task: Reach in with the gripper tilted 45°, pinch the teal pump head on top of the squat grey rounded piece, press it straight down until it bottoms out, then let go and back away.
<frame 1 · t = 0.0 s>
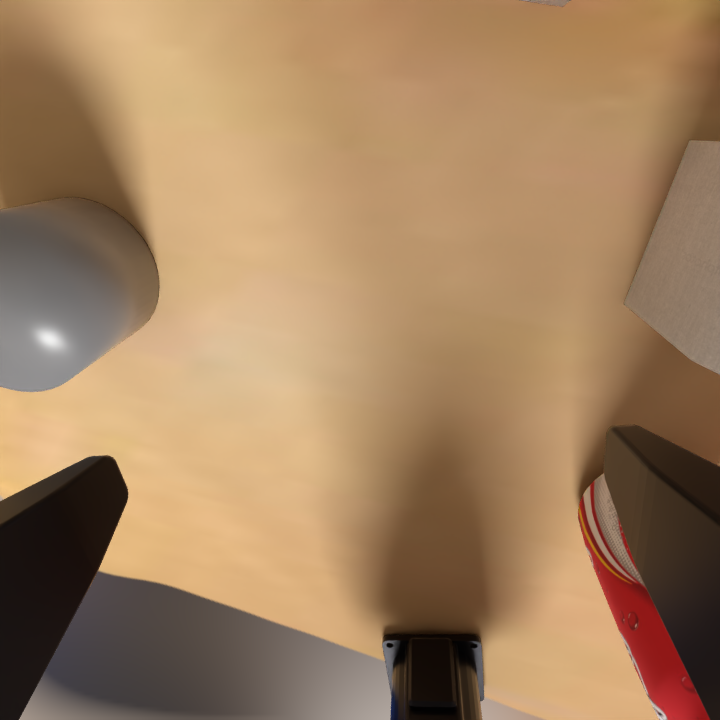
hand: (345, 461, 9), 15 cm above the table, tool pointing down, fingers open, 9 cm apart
grey rounded piece: (89, 272, 24), on the table
soda can: (637, 496, 26), on the table
grey rectangular block: (695, 234, 20), on the table
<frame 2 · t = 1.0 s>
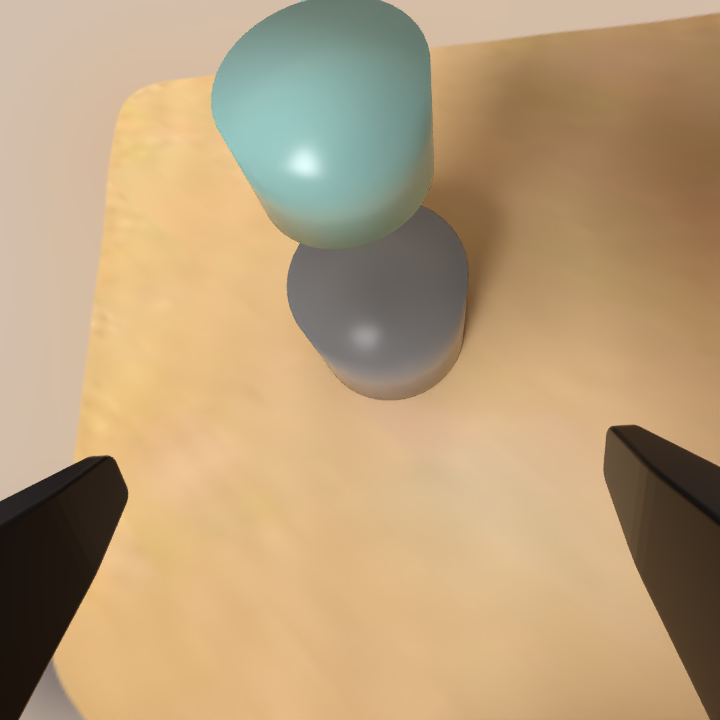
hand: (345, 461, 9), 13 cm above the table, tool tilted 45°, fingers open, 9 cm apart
grey rounded piece: (391, 331, 24), on the table
pump head: (340, 121, 13), point 12 cm above the table, slide at 0.0 cm
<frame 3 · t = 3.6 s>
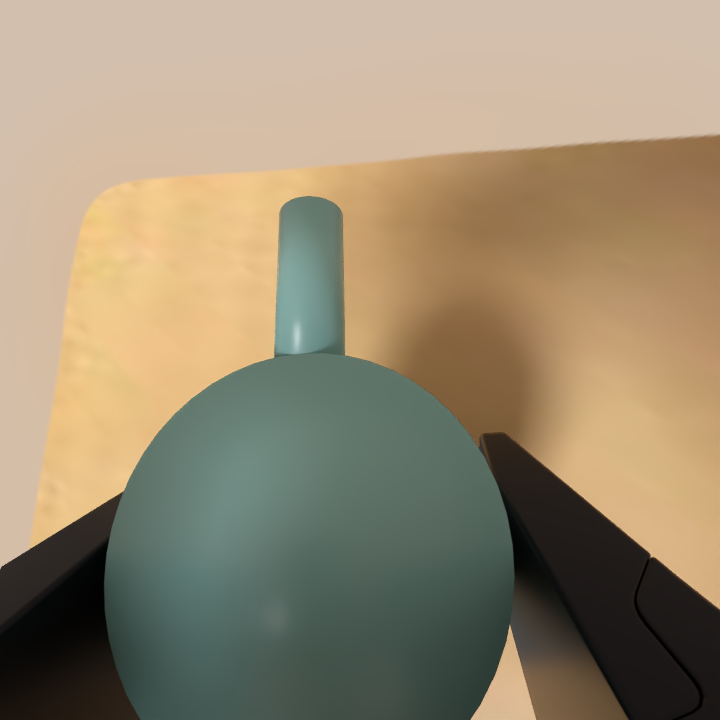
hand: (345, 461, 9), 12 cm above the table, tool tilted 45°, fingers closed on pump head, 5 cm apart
pump head: (340, 466, 8), point 12 cm above the table, slide at 0.0 cm, touching gripper
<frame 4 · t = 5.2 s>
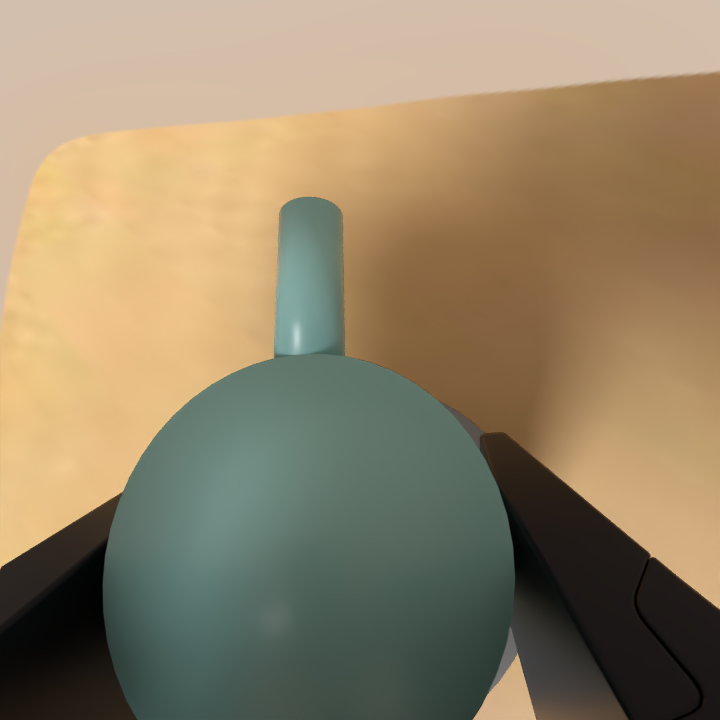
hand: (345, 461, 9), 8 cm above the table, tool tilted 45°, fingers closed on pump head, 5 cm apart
grey rounded piece: (394, 540, 16), on the table
pump head: (339, 467, 8), point 8 cm above the table, slide at 3.6 cm, touching gripper
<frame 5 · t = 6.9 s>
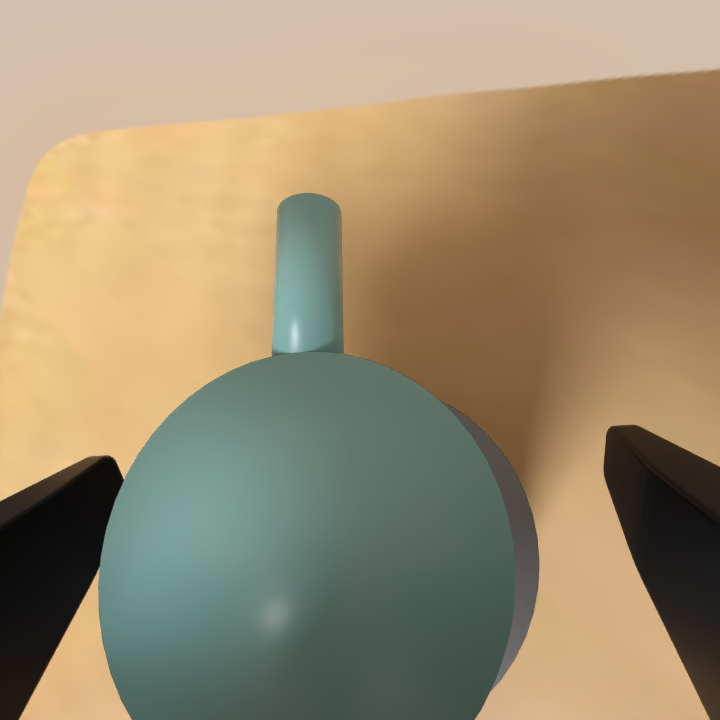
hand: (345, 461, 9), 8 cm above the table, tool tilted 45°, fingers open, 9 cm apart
grey rounded piece: (394, 539, 16), on the table
pump head: (338, 466, 8), point 8 cm above the table, slide at 3.6 cm
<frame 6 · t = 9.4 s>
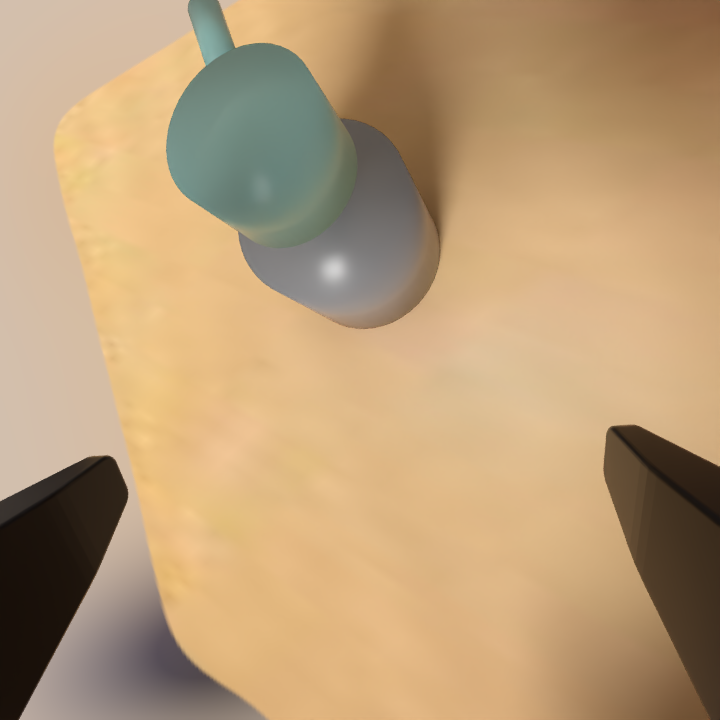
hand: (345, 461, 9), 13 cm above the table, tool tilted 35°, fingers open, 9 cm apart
grey rounded piece: (367, 257, 23), on the table
pump head: (271, 139, 16), point 8 cm above the table, slide at 3.6 cm
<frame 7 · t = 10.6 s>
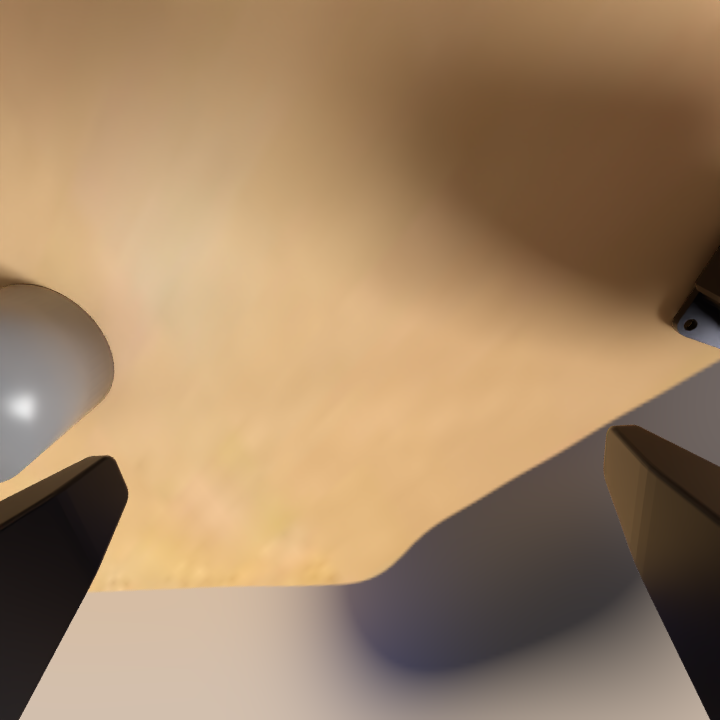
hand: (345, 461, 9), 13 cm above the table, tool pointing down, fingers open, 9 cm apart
grey rounded piece: (45, 352, 24), on the table
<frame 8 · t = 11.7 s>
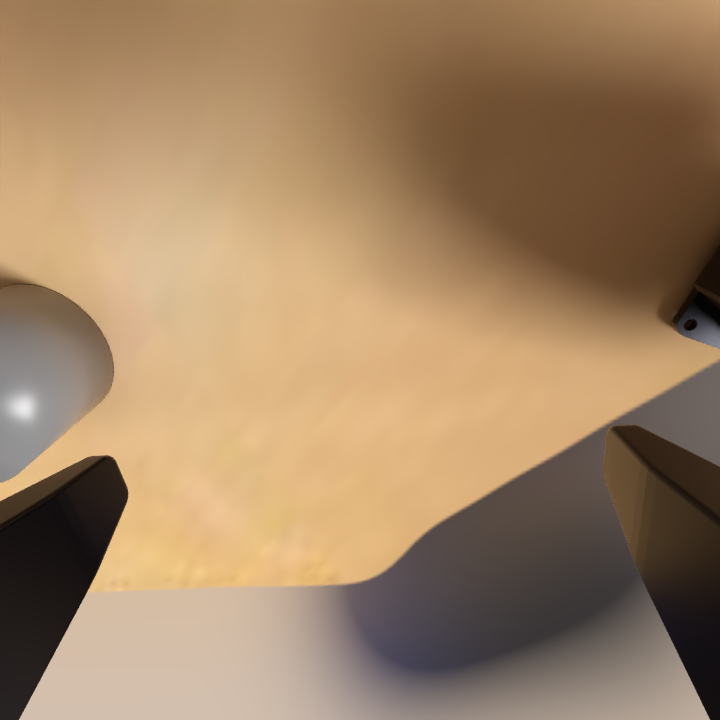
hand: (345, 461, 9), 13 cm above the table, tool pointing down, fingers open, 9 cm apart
grey rounded piece: (45, 352, 24), on the table
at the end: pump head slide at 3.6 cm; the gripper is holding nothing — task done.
